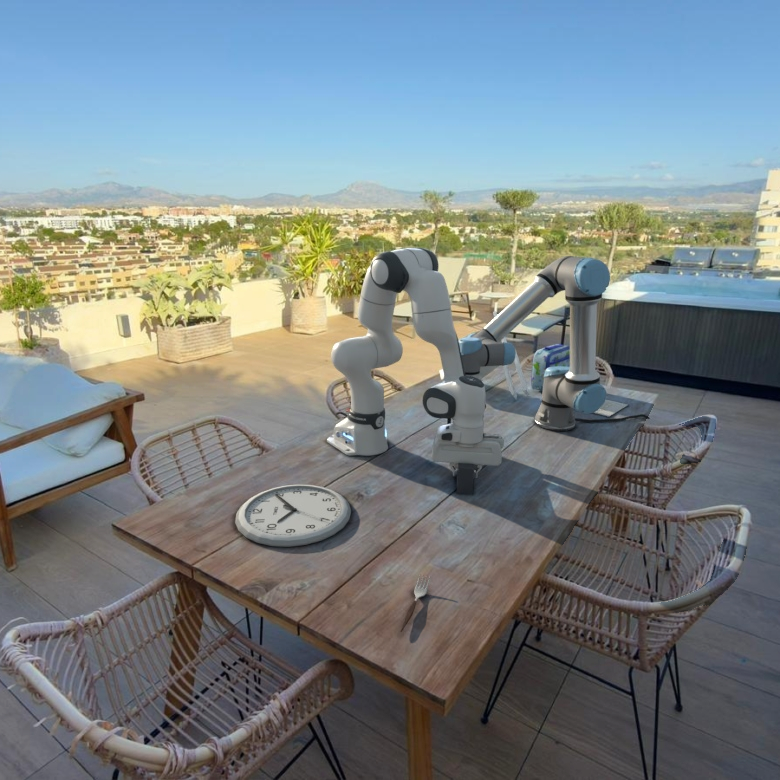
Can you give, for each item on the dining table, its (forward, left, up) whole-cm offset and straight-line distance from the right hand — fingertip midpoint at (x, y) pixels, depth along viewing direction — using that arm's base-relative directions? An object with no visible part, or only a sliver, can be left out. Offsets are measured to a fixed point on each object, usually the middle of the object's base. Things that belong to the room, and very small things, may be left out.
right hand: (463, 449), depth 180 cm
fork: (+11, +80, 0) cm, 81 cm away
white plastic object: (-9, -68, 0) cm, 68 cm away
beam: (0, +13, 0) cm, 13 cm away
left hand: (0, +26, +3) cm, 26 cm away
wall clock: (+45, +49, 0) cm, 67 cm away
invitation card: (-60, -56, 0) cm, 82 cm away
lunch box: (-43, -80, 0) cm, 91 cm away
